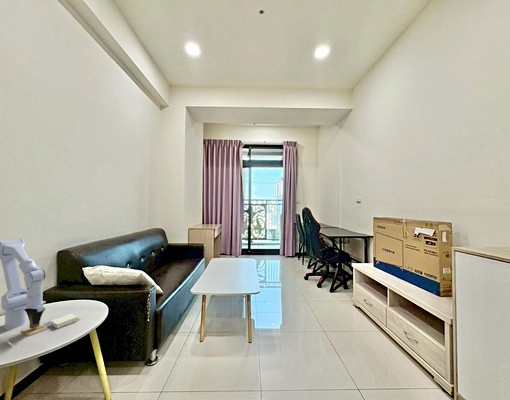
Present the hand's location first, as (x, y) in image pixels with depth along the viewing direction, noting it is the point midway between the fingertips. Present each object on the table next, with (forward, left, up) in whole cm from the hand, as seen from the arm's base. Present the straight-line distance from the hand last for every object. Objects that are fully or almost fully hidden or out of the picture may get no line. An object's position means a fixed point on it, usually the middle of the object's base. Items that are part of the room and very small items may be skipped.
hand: (34, 322), depth 117 cm
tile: (+1, +11, -2) cm, 11 cm away
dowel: (0, 0, -2) cm, 2 cm away
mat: (+2, +11, -4) cm, 11 cm away
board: (0, 0, -4) cm, 4 cm away
